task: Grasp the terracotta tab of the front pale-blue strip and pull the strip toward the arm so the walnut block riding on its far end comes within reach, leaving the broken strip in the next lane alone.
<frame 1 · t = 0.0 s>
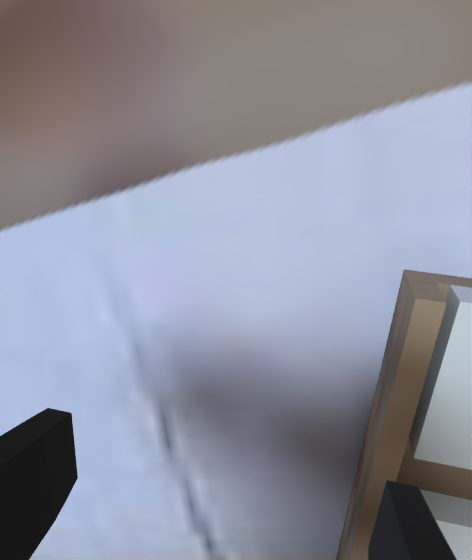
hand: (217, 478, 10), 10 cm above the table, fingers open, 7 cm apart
broken strip: (463, 447, 20), resting on lane board
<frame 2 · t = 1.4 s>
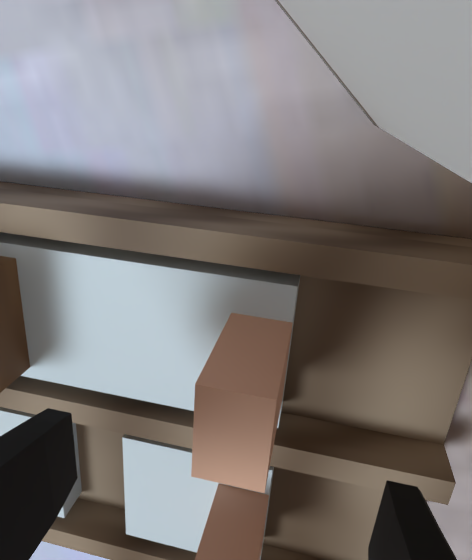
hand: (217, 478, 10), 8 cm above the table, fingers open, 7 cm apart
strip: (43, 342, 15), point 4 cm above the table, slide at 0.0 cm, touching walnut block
lane board: (168, 384, 19), on the table
broken strip: (108, 437, 21), resting on lane board
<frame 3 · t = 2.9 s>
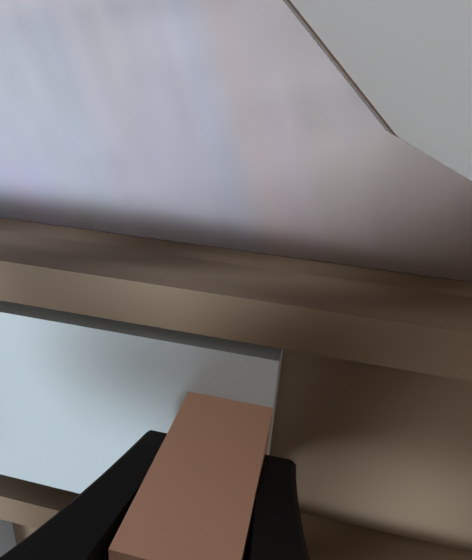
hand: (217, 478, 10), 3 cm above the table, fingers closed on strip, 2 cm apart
lane board: (123, 456, 15), on the table
broken strip: (53, 513, 17), resting on lane board
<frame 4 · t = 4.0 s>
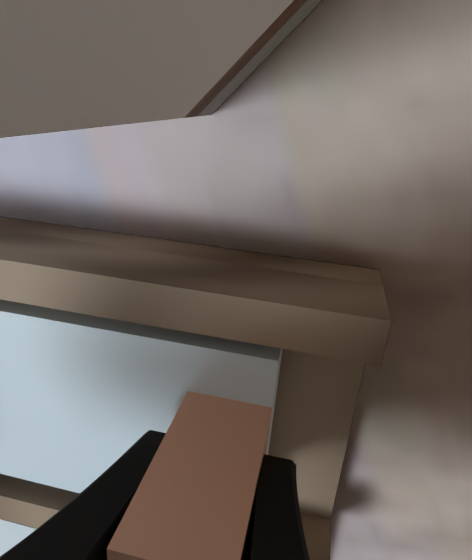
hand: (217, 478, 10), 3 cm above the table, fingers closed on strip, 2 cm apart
lane board: (18, 432, 16), on the table
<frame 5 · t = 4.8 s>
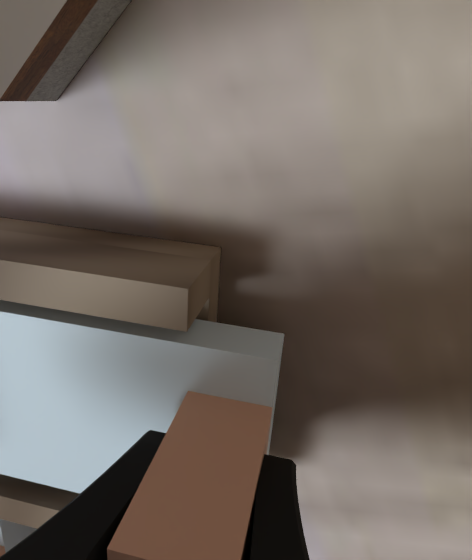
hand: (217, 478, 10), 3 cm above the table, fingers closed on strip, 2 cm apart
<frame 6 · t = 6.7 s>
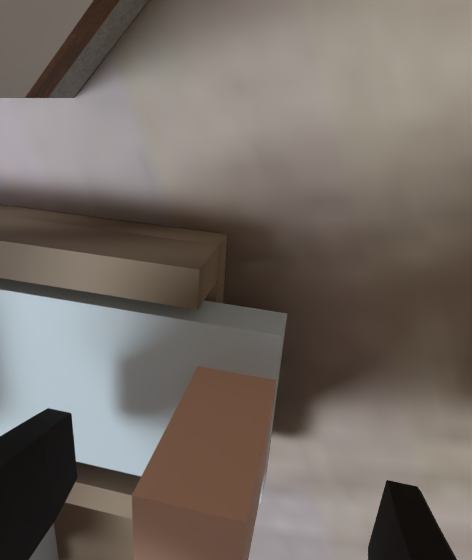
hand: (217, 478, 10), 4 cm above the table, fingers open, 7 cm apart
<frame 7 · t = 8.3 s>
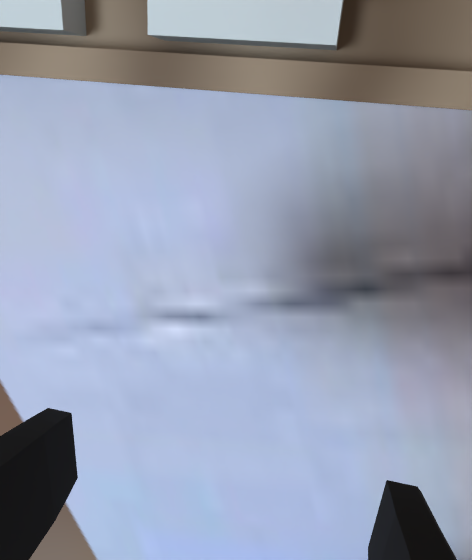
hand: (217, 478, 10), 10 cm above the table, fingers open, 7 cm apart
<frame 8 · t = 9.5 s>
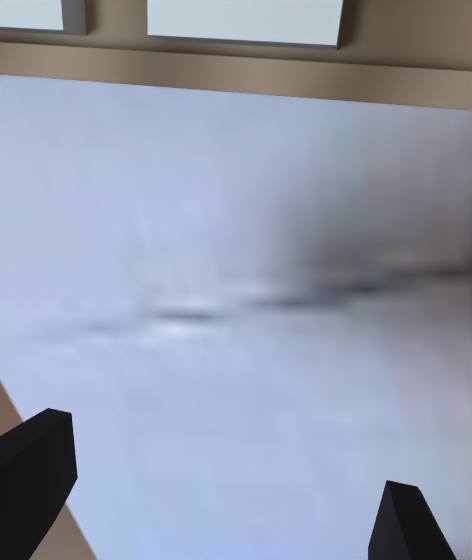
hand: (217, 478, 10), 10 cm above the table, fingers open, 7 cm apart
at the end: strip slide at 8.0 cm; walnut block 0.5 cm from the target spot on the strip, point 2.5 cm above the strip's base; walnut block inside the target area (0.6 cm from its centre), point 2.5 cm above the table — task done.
